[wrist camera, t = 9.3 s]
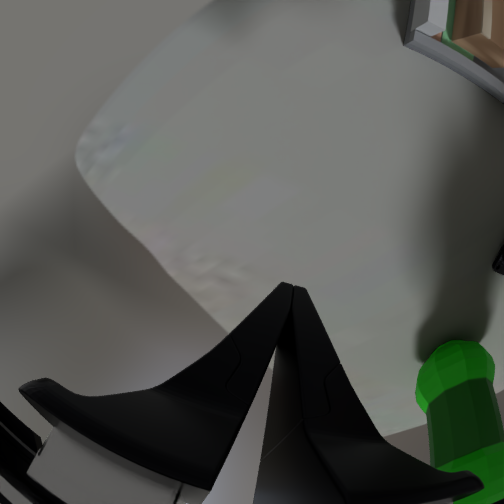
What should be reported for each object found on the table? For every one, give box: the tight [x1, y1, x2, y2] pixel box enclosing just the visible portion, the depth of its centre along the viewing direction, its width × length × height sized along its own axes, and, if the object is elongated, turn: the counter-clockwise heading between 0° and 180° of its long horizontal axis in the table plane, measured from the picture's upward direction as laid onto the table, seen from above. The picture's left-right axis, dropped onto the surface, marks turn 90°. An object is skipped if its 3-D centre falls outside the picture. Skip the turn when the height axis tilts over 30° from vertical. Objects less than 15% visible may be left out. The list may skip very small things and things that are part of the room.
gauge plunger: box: [451, 0, 504, 68], centre depth 6 cm, size 4×7×4 cm, turn 170°
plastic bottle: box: [415, 340, 504, 504], centre depth 14 cm, size 10×10×25 cm
